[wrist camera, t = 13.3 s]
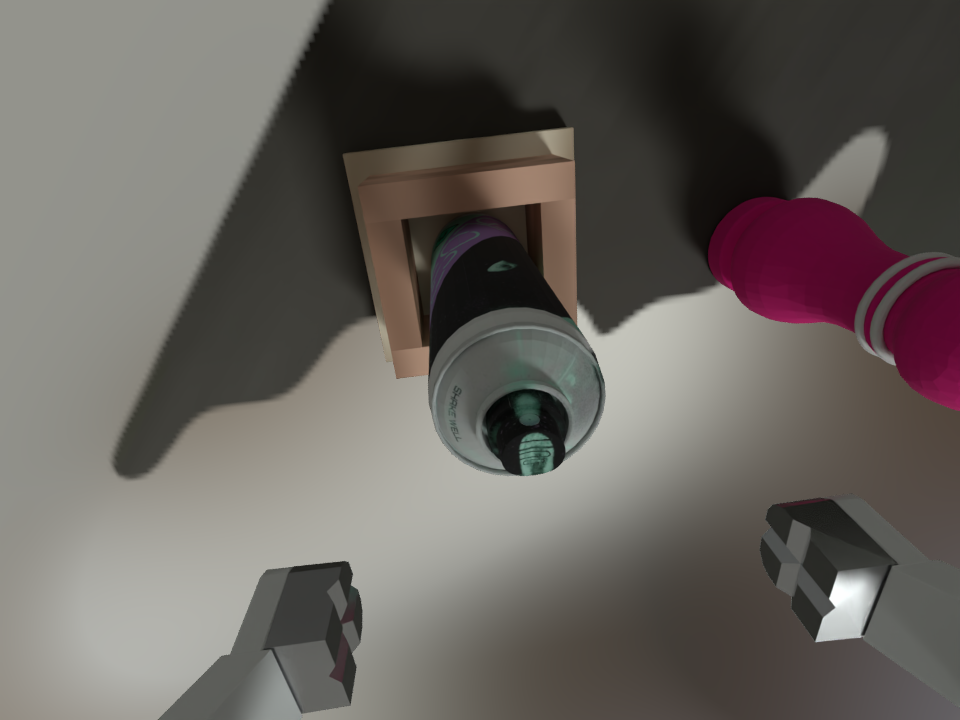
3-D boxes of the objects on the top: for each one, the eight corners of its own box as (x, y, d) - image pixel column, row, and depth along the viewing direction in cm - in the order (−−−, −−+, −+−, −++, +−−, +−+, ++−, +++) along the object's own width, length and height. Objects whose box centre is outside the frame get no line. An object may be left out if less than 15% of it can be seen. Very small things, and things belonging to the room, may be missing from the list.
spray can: (484, 192, 29) (565, 315, 11) (536, 264, 31) (675, 464, 13) (413, 250, 30) (380, 446, 12) (468, 315, 32) (509, 564, 14)
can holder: (567, 127, 29) (600, 129, 23) (571, 329, 35) (598, 371, 29) (346, 152, 29) (325, 161, 23) (388, 352, 34) (378, 400, 29)
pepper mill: (693, 300, 35) (970, 494, 17) (706, 193, 32) (1065, 293, 14) (792, 290, 35) (1168, 469, 17) (815, 183, 32) (1307, 266, 14)
